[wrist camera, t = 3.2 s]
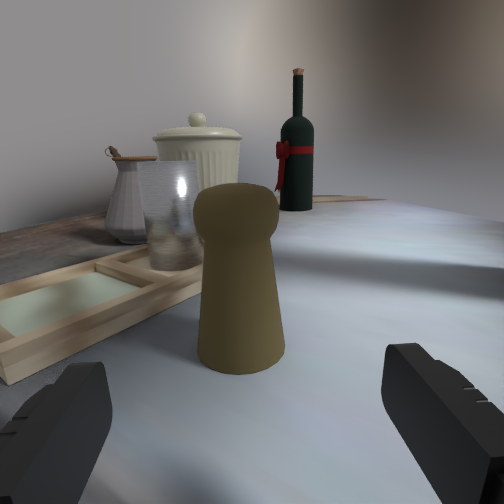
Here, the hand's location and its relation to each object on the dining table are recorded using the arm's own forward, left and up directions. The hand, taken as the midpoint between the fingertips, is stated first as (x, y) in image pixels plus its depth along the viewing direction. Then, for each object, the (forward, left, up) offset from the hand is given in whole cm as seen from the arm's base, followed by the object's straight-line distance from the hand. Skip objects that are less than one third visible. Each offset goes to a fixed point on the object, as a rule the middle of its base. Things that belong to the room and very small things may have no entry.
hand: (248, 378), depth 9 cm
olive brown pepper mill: (-9, -7, -7) cm, 13 cm away
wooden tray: (-10, -22, -7) cm, 26 cm away
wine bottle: (-61, -32, -7) cm, 69 cm away
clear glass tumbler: (-16, -22, -5) cm, 28 cm away
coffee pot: (-26, -44, -7) cm, 52 cm away
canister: (-43, -44, -7) cm, 62 cm away
